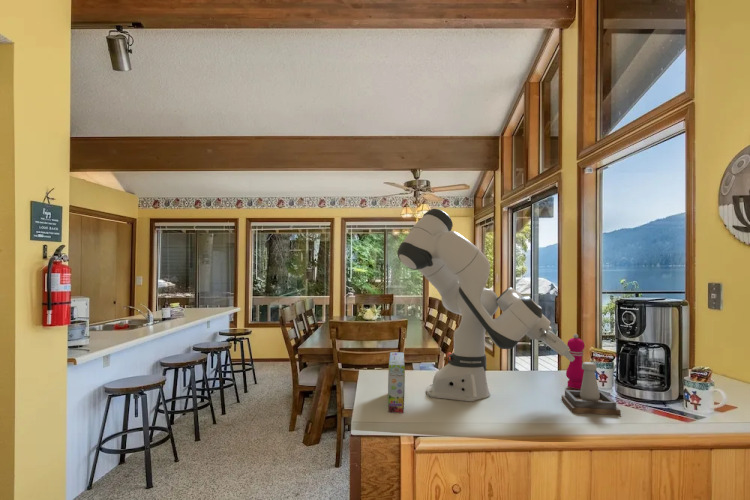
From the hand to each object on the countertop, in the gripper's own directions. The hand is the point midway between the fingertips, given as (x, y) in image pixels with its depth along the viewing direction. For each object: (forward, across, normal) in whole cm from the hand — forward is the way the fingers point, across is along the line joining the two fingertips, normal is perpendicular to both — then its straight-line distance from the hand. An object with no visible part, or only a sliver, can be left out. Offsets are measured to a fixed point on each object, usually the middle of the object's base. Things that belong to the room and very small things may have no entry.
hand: (568, 356), depth 142 cm
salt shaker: (+14, -2, +6) cm, 16 cm away
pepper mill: (+18, +23, +5) cm, 30 cm away
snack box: (-29, -5, +52) cm, 60 cm away
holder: (+15, -1, +7) cm, 17 cm away
